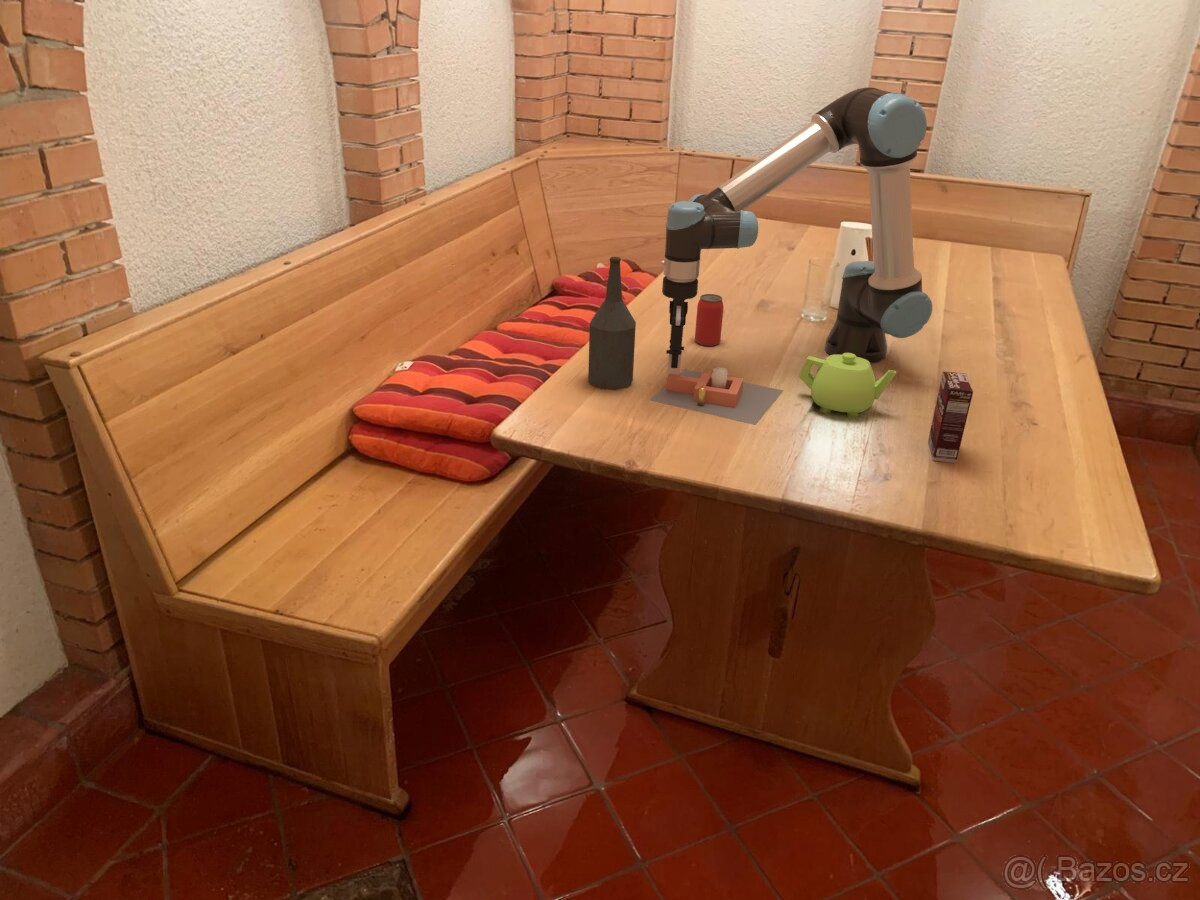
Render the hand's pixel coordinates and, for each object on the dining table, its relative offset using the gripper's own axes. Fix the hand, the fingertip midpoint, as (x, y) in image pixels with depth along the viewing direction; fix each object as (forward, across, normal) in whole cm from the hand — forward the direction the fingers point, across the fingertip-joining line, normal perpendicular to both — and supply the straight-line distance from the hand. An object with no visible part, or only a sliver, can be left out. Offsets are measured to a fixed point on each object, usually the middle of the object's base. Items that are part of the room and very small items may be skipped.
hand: (673, 378), depth 204 cm
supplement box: (+3, +22, +54) cm, 59 cm away
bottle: (+3, 0, -14) cm, 14 cm away
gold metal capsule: (+2, +10, +6) cm, 12 cm away
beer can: (+3, -32, +9) cm, 33 cm away
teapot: (+3, +3, +37) cm, 38 cm away
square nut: (+1, +4, +7) cm, 8 cm away
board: (+3, +4, +10) cm, 11 cm away
